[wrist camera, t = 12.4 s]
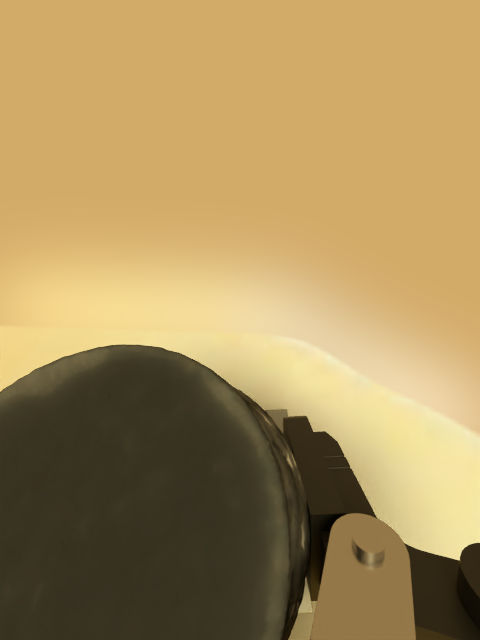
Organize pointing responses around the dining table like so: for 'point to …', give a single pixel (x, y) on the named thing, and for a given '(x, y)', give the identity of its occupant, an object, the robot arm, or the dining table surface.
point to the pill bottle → (145, 504)
